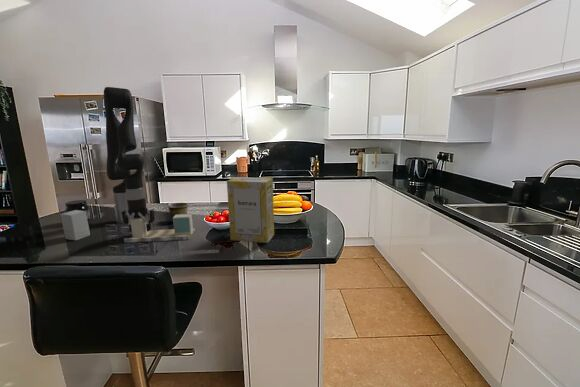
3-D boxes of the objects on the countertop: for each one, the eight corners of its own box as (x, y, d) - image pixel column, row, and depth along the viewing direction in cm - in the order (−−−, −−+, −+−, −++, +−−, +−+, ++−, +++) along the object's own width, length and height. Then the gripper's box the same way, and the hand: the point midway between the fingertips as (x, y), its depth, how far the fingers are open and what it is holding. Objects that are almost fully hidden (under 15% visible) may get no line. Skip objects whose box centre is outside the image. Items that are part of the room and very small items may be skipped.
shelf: (124, 245, 125) (123, 239, 124) (138, 233, 139) (137, 227, 139) (189, 242, 128) (188, 235, 127) (196, 230, 142) (195, 224, 142)
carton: (139, 232, 137) (136, 215, 135) (149, 232, 137) (146, 214, 135) (132, 238, 129) (129, 220, 127) (143, 238, 130) (140, 219, 128)
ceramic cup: (192, 221, 156) (191, 204, 154) (175, 226, 149) (173, 208, 147) (181, 217, 165) (180, 200, 163) (164, 221, 158) (162, 204, 156)
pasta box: (230, 239, 130) (226, 181, 124) (239, 231, 140) (236, 177, 134) (267, 242, 126) (265, 182, 120) (274, 234, 136) (272, 178, 130)
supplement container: (63, 224, 155) (59, 203, 152) (83, 218, 165) (79, 198, 162) (76, 226, 151) (71, 205, 149) (95, 220, 161) (91, 200, 158)
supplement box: (90, 235, 138) (86, 210, 135) (75, 240, 131) (70, 215, 129) (80, 233, 141) (75, 209, 138) (64, 239, 134) (59, 213, 131)
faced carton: (174, 235, 132) (172, 217, 130) (177, 232, 137) (175, 214, 135) (191, 235, 133) (189, 217, 131) (193, 231, 137) (191, 214, 135)
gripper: (115, 200, 125) (121, 235, 128) (149, 198, 126) (153, 233, 130) (123, 196, 132) (128, 229, 136) (155, 194, 133) (159, 227, 137)
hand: (140, 231), depth 133 cm, fingers open, 6 cm apart
